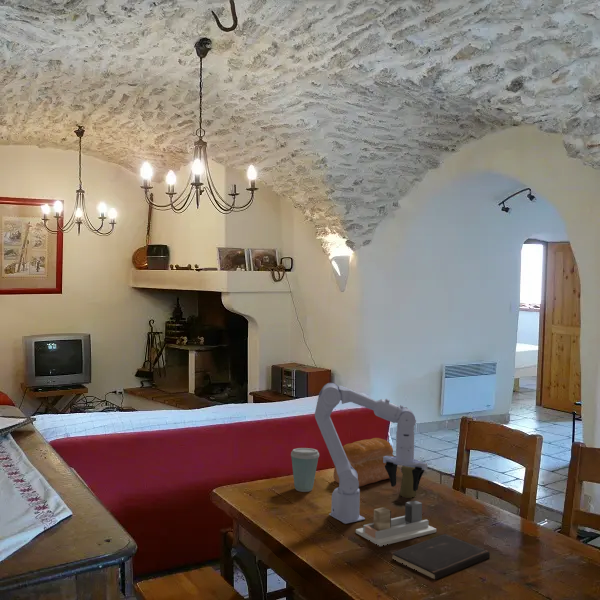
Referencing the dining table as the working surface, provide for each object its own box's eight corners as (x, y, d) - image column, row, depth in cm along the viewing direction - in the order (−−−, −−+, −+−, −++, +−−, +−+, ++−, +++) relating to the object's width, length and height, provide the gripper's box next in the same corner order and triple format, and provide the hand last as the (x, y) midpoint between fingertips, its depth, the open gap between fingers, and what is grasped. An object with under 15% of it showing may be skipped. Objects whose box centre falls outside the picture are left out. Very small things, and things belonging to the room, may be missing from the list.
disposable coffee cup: (288, 485, 248) (289, 445, 248) (317, 484, 249) (317, 445, 249) (291, 494, 238) (292, 453, 237) (321, 493, 239) (321, 452, 238)
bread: (329, 481, 253) (329, 442, 253) (376, 469, 270) (377, 432, 270) (354, 490, 243) (354, 449, 242) (401, 477, 260) (402, 439, 259)
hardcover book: (390, 560, 184) (391, 552, 184) (445, 541, 198) (445, 533, 198) (435, 582, 171) (435, 573, 171) (489, 559, 185) (489, 551, 185)
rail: (355, 532, 202) (355, 506, 202) (410, 519, 214) (411, 495, 214) (379, 546, 192) (380, 519, 192) (436, 532, 204) (436, 506, 203)
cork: (416, 498, 234) (416, 468, 234) (399, 497, 235) (399, 466, 235) (416, 493, 240) (417, 463, 240) (400, 492, 241) (400, 462, 241)
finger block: (373, 532, 200) (373, 509, 200) (385, 529, 203) (385, 506, 202) (379, 535, 198) (380, 512, 198) (391, 532, 200) (391, 509, 200)
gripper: (379, 445, 213) (378, 487, 214) (421, 452, 206) (420, 495, 206) (388, 441, 219) (388, 481, 220) (429, 447, 211) (429, 489, 212)
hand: (404, 488), depth 213 cm, fingers open, 7 cm apart
